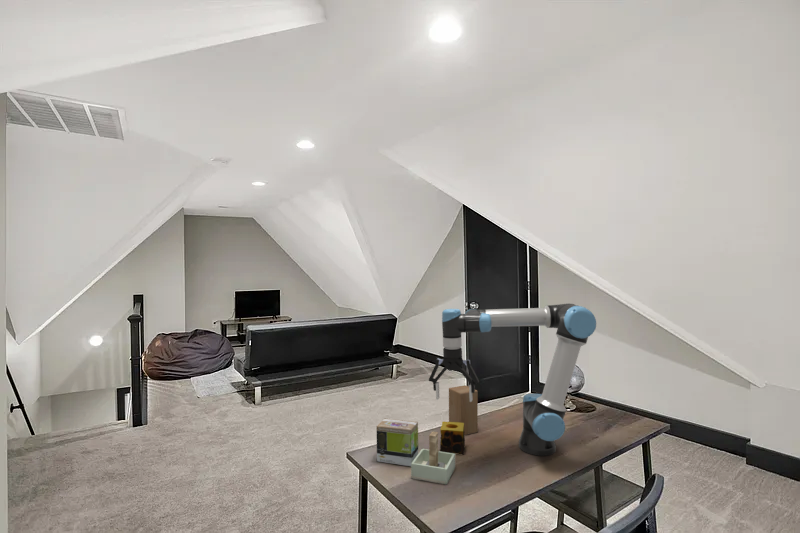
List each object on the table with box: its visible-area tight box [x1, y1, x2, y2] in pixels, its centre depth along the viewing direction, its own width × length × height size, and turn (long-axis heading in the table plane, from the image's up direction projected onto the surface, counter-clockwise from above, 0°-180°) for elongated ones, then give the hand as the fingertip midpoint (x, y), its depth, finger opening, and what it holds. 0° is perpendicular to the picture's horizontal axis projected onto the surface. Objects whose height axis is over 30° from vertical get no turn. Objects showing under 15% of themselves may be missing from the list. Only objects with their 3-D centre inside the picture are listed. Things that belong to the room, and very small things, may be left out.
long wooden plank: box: [428, 431, 439, 467], centre depth 165 cm, size 2×4×14 cm, turn 160°
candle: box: [439, 421, 466, 455], centre depth 186 cm, size 10×10×10 cm
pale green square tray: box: [410, 448, 456, 485], centre depth 165 cm, size 14×14×6 cm
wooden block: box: [448, 385, 479, 436], centre depth 205 cm, size 10×10×20 cm
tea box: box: [376, 418, 419, 467], centre depth 176 cm, size 15×10×15 cm, turn 71°
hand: (454, 399), depth 175 cm, fingers open, 13 cm apart
